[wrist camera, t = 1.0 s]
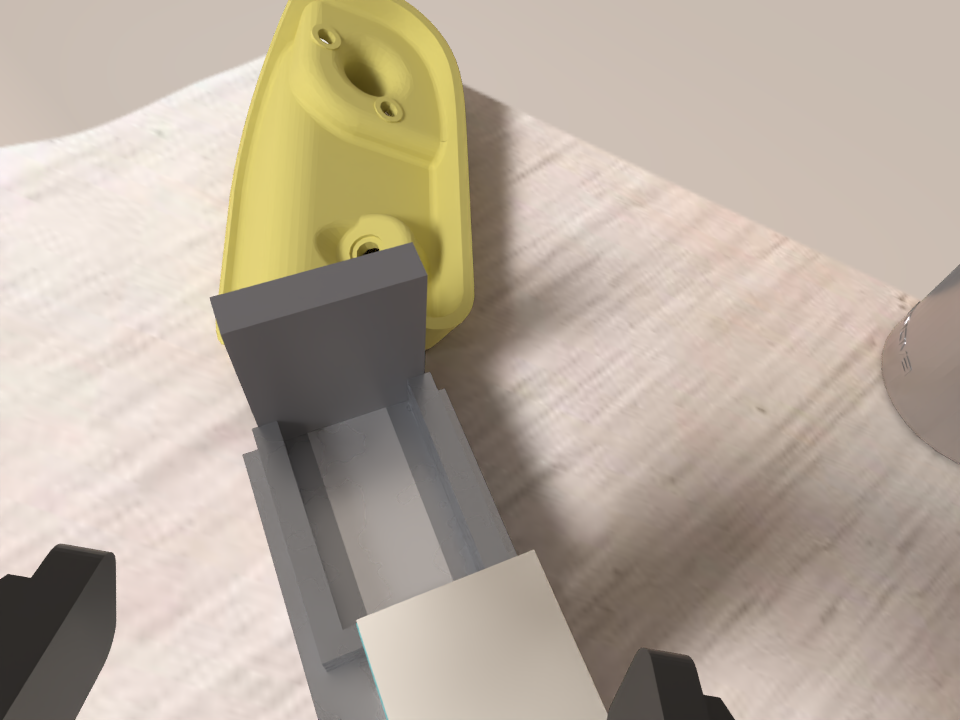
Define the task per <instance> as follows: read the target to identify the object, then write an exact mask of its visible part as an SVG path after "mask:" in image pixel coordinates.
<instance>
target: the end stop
mask: <svg viewBox="0 0 960 720" xmlns="http://www.w3.org/2000/svg"><path fill="white" fill-rule="evenodd" d="M427 279H428V275H427V273H426V270H425V268H424V266H423V264H422V262H421V260H420V257H419V255H418V253H417V251H416V249H415V246H414V244H413V242H410V243H407V244H403V245H399V246H396V247H392V248H388V249H385V250H381V251H378V252H374V253H370V254H367V255H363V256H359V257H356V258H352V259H348V260H345V261H341V262H337V263H334V264H330V265H326V266H323V267H319V268H315V269H312V270H308V271H304V272H301V273H297V274H293V275H290V276H286V277H282V278H279V279H275V280H271V281H268V282H264V283H261V284H257V285H253V286H250V287H246V288H242V289H239V290H235V291H231V292H228V293H224V294H220V295H217V296H213V297H210V301H211V304H212V307H213V311H214V314H215V318H216V321H217V324H218V328H219V331H220V335H221V337H222V339H223V342H224V344H225V347H226V349H227V352H228V354H229V357H230V359H231V361H232V364H233V366H234V369H235V371H236V374H237V376H238V379H239V381H240V383H241V386H242V388H243V391H244V393H245V396H246V398H247V401H248V403H249V405H250V408H251V410H252V413H253V415H254V418H255V420H256V423H257V425H258V427H259V426H262V425H265V424H269V423H272V422H275V421H277V422H278V425H279V428H280V431H281V434H282V436H283V439H284V441H285V440H289V439H292V438H295V437H298V436H301V435H304V434H307V433H309V432H312V431H315V430H318V429H321V428H324V427H328V426H331V425H334V424H337V423H340V422H343V421H346V420H349V419H352V418H355V417H358V416H361V415H364V414H367V413H370V412H373V411H376V410H379V409H382V408H385V407H389V406H392V405H395V404H398V403H401V402H404V401H407V400H408V391H407V379H409V378H412V377H415V376H418V375H421V374H424V368H425V338H426V308H427Z"/></svg>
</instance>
